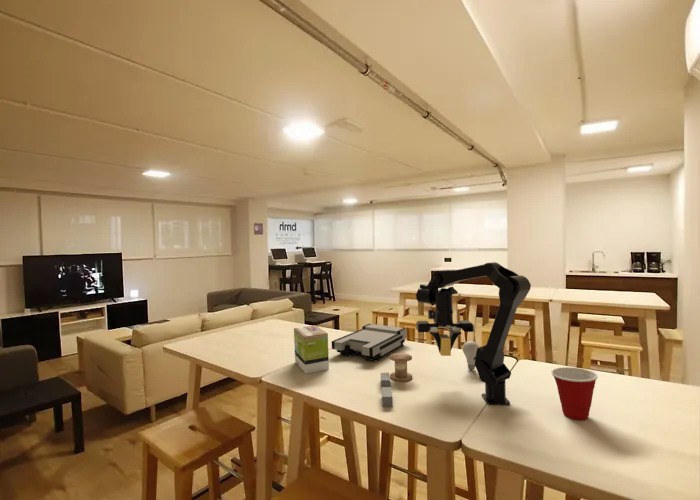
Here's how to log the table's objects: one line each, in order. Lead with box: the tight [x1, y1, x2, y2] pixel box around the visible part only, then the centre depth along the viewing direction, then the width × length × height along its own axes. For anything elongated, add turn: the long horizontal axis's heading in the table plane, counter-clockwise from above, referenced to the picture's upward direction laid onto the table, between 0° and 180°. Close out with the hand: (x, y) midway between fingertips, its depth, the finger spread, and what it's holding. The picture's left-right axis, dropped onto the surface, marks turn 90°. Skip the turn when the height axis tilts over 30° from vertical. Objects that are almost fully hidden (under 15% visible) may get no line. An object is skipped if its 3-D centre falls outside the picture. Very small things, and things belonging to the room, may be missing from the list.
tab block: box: [438, 333, 452, 357], centre depth 119 cm, size 4×3×6 cm
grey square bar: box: [380, 372, 394, 408], centre depth 111 cm, size 19×3×3 cm, turn 177°
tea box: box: [293, 324, 330, 374], centre depth 138 cm, size 15×10×15 cm, turn 25°
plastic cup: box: [550, 366, 599, 421], centre depth 94 cm, size 11×11×12 cm
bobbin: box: [389, 352, 413, 383], centre depth 124 cm, size 8×8×8 cm
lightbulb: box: [462, 340, 480, 371], centre depth 129 cm, size 6×6×11 cm
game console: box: [331, 323, 408, 362], centre depth 157 cm, size 21×32×8 cm, turn 146°
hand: (444, 350), depth 119 cm, fingers closed on tab block, 3 cm apart
